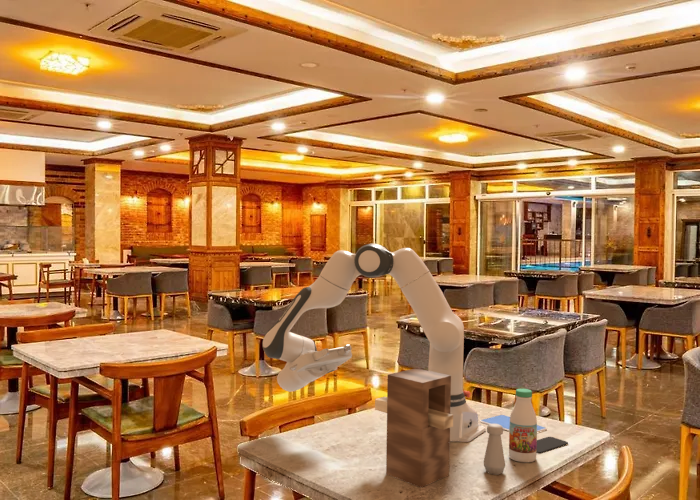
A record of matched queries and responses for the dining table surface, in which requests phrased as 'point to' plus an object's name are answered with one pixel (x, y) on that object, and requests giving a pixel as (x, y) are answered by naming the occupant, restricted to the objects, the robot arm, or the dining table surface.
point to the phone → (549, 444)
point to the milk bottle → (523, 428)
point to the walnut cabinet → (417, 426)
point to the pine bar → (434, 416)
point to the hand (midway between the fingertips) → (338, 348)
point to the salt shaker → (494, 450)
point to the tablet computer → (505, 422)
